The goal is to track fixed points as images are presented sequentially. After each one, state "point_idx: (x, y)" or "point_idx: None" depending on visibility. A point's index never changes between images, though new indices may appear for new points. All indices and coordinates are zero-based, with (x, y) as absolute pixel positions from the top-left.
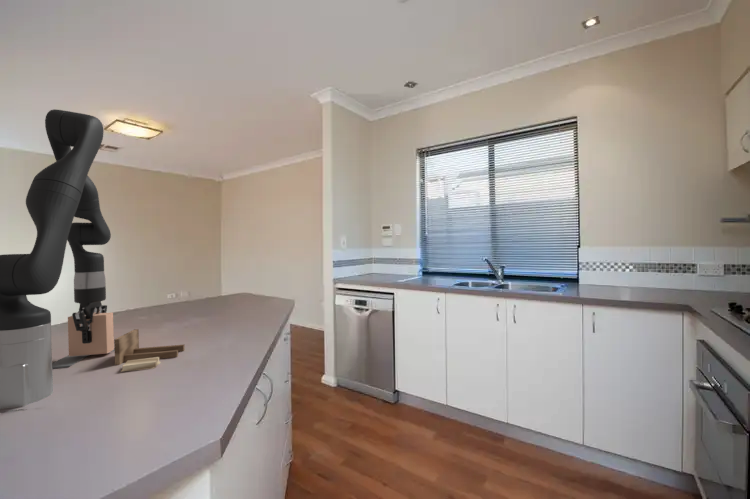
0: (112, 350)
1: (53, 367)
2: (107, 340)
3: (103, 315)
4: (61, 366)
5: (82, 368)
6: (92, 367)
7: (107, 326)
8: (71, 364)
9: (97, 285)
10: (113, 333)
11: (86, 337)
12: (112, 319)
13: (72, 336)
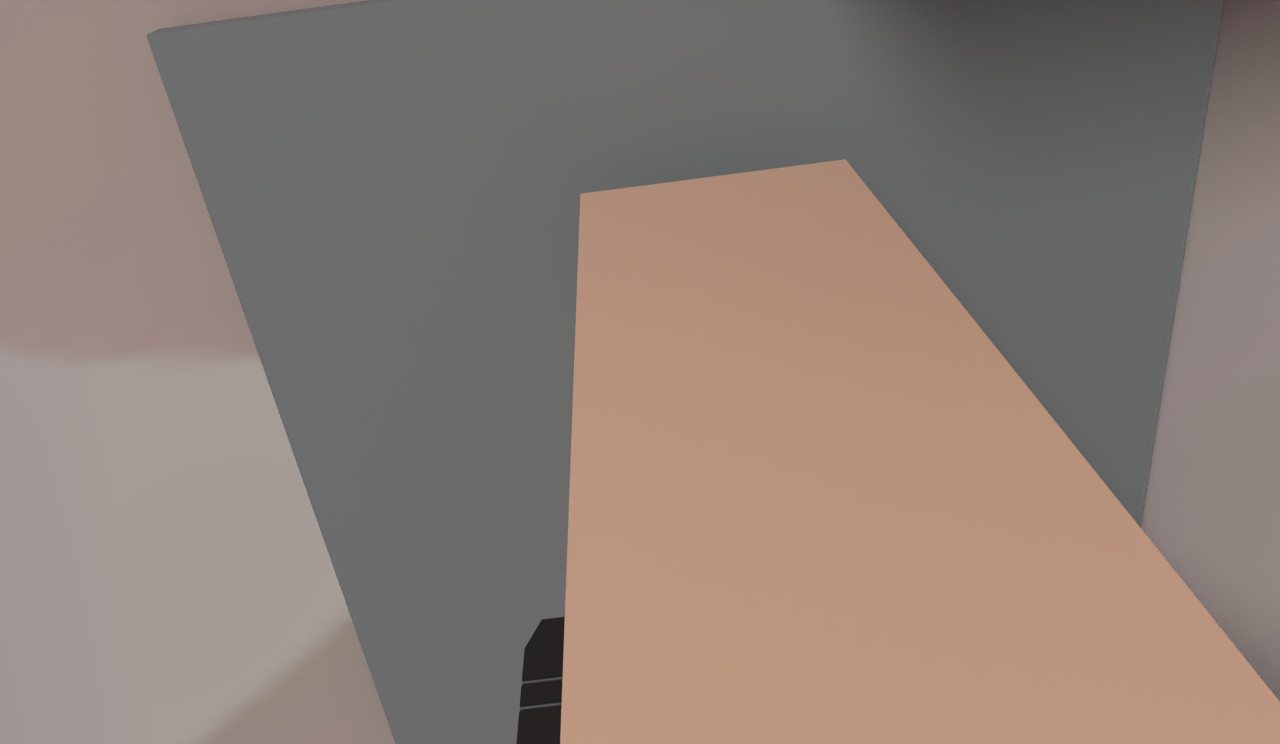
0: (426, 298)
1: None
2: (881, 263)
3: None
4: (1139, 515)
5: (1248, 215)
6: (1267, 78)
7: (1013, 481)
8: (1108, 442)
9: None
10: (576, 352)
11: None
12: (621, 689)
13: None
